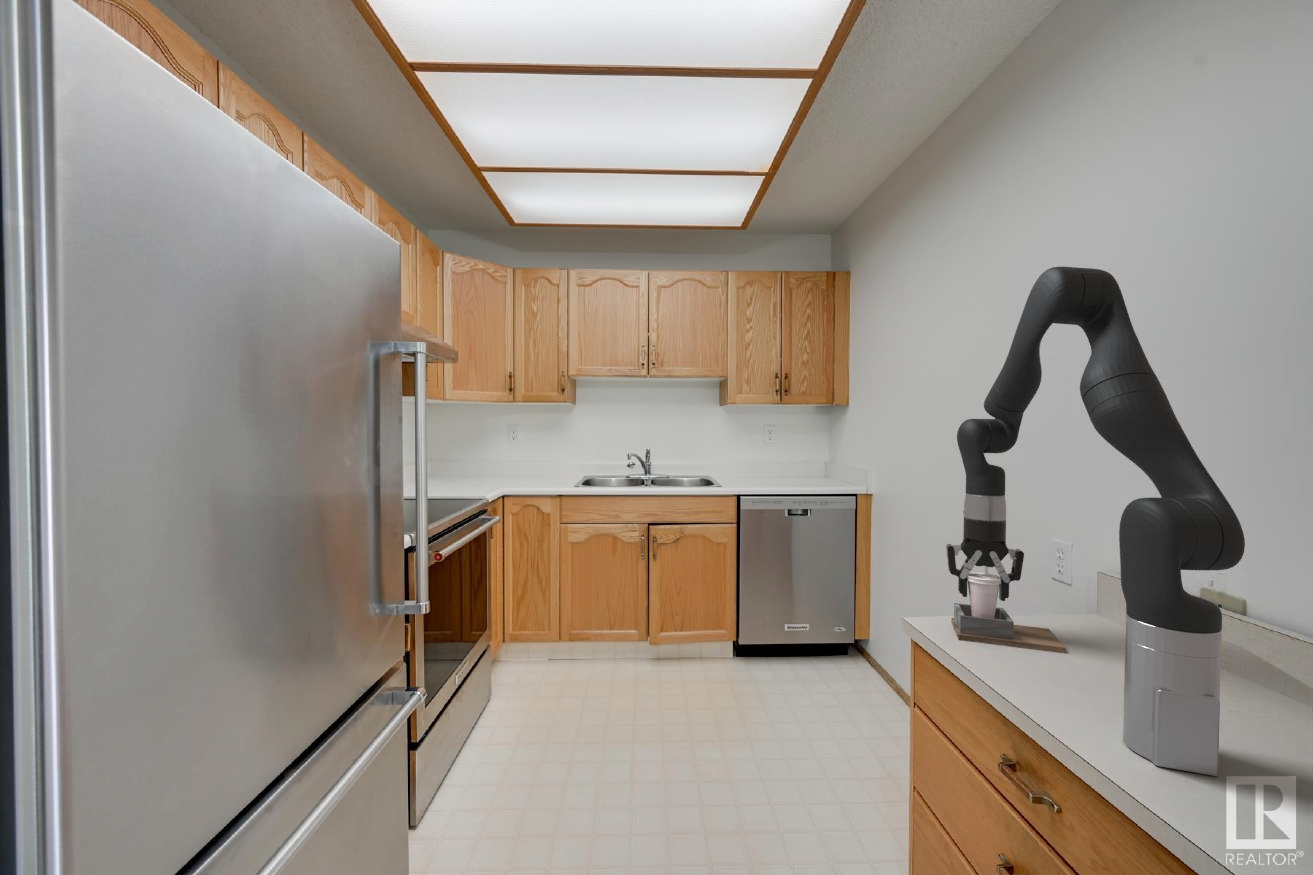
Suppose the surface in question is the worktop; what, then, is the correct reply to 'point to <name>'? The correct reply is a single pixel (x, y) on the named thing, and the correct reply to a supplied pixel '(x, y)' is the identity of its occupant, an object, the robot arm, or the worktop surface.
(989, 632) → the caddy
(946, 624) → the worktop surface
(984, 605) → the smoothie
